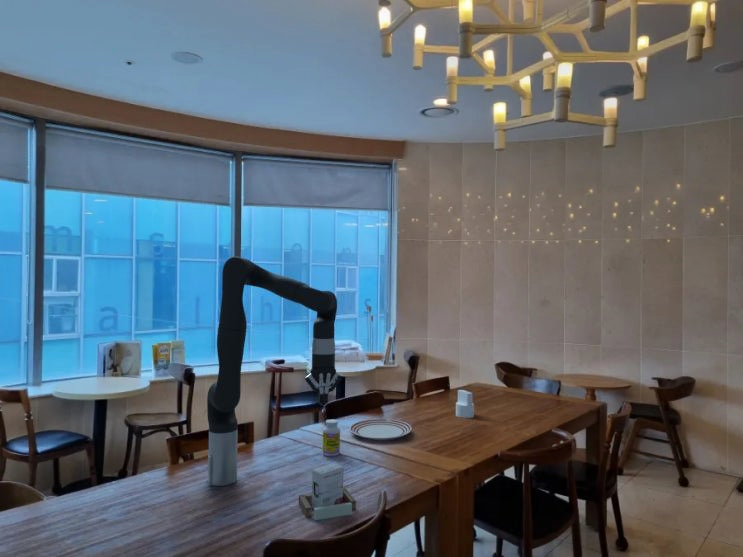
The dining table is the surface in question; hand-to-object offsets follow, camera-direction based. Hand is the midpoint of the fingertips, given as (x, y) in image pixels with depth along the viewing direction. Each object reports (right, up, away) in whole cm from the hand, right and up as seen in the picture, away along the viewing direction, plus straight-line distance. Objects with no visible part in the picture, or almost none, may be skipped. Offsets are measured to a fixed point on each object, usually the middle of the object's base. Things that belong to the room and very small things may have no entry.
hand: (322, 404), depth 169 cm
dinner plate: (+20, -28, +59) cm, 68 cm away
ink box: (+3, -27, -15) cm, 31 cm away
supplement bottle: (0, -27, +32) cm, 42 cm away
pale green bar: (+5, -27, -21) cm, 34 cm away
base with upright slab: (+63, -28, +92) cm, 115 cm away
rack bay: (+2, -27, -13) cm, 30 cm away
